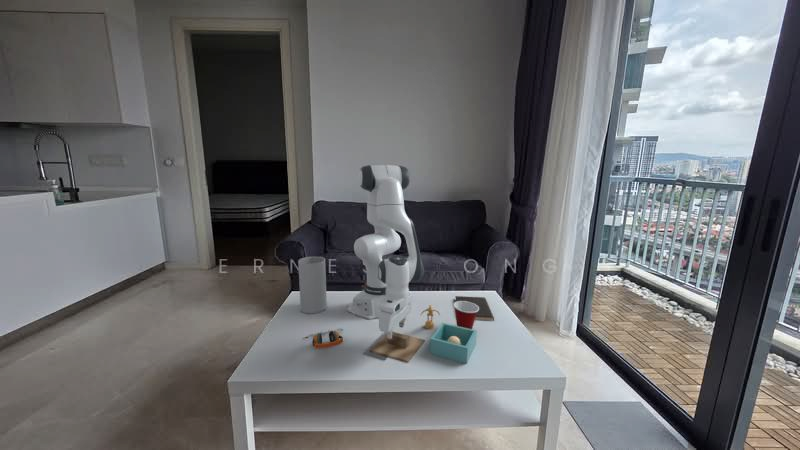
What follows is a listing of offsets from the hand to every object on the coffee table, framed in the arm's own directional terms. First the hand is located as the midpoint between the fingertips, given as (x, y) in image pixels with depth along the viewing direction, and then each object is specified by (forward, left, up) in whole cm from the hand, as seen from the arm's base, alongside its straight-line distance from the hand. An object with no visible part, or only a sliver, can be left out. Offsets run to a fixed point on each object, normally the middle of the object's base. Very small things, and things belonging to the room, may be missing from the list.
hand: (396, 331), depth 125 cm
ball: (+21, +8, -6) cm, 23 cm away
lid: (+1, 0, -6) cm, 6 cm away
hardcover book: (+19, +49, -8) cm, 53 cm away
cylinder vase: (-52, +13, -7) cm, 54 cm away
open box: (+21, +8, -7) cm, 23 cm away
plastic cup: (+21, +25, -7) cm, 33 cm away
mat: (+1, 0, -7) cm, 7 cm away
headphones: (-26, -10, -7) cm, 29 cm away
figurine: (+7, +19, -7) cm, 21 cm away
